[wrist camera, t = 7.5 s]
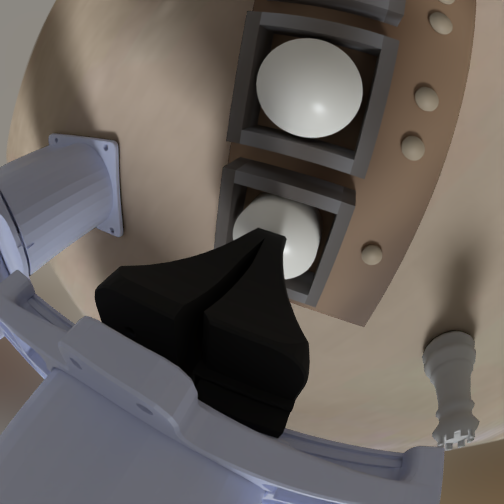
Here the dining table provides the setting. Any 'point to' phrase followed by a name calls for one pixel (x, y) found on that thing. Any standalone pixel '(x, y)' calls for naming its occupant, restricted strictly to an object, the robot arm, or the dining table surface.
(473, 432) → the rook chess piece
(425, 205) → the button panel
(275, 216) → the button
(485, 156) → the dining table surface
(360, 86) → the button
